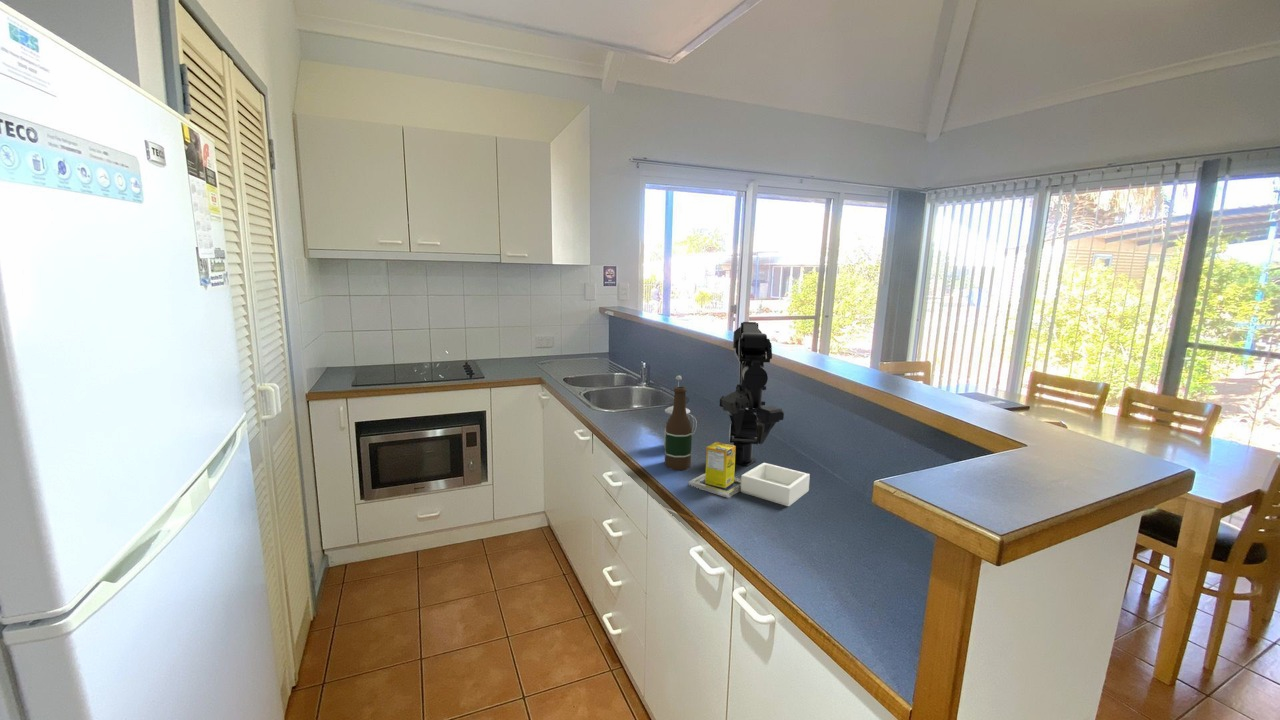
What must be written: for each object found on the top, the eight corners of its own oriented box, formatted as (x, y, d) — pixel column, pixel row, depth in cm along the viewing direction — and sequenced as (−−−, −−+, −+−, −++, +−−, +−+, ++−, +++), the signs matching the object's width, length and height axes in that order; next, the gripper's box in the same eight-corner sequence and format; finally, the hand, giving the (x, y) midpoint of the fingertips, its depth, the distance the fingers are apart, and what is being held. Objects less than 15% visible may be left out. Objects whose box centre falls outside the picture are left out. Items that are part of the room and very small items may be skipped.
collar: (712, 473, 145) (712, 469, 145) (750, 484, 137) (750, 480, 137) (688, 485, 136) (689, 481, 135) (728, 498, 128) (728, 493, 128)
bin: (763, 478, 142) (763, 462, 141) (808, 490, 134) (809, 474, 133) (740, 492, 132) (741, 475, 131) (788, 506, 124) (789, 488, 123)
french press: (655, 449, 165) (657, 373, 161) (687, 445, 170) (690, 372, 166) (669, 459, 156) (671, 379, 153) (702, 454, 161) (705, 377, 157)
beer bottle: (672, 474, 143) (675, 391, 140) (659, 465, 150) (661, 385, 147) (695, 470, 147) (699, 389, 144) (681, 461, 154) (684, 384, 150)
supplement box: (734, 484, 137) (736, 445, 135) (724, 491, 132) (726, 451, 131) (714, 479, 140) (716, 441, 139) (704, 486, 135) (706, 446, 134)
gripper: (705, 377, 137) (702, 433, 139) (753, 391, 121) (750, 454, 123) (736, 374, 142) (733, 428, 145) (787, 387, 126) (783, 447, 129)
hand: (748, 439), depth 135 cm, fingers open, 9 cm apart
